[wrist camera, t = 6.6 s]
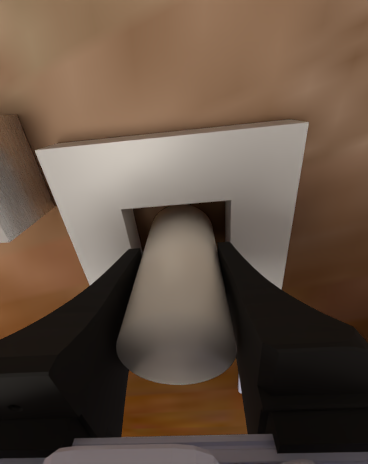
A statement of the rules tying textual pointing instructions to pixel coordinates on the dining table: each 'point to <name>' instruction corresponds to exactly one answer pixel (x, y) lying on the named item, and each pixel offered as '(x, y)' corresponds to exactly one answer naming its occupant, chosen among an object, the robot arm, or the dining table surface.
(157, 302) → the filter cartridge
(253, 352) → the robot arm
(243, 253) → the white square frame
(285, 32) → the dining table surface
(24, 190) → the button housing
